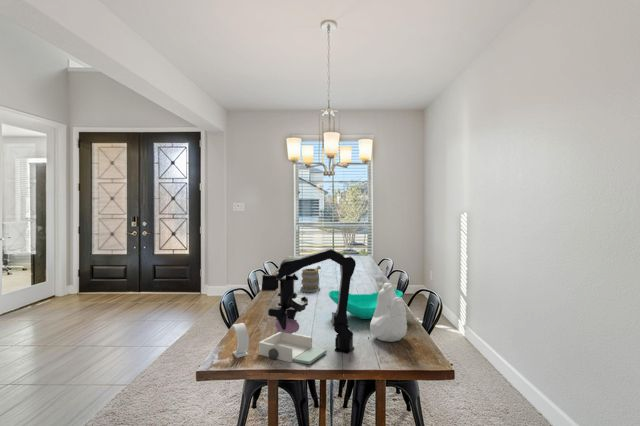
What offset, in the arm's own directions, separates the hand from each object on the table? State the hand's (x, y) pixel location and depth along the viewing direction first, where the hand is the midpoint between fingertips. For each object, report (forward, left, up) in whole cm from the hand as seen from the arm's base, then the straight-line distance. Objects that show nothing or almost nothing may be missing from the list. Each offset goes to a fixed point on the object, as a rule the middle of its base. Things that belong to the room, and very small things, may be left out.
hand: (287, 328), depth 163 cm
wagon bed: (+1, 0, -10) cm, 10 cm away
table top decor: (-9, -59, -10) cm, 61 cm away
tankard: (+48, -100, -10) cm, 111 cm away
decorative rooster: (-32, -32, -10) cm, 47 cm away
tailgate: (-7, 0, -9) cm, 12 cm away
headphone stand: (+15, +12, -10) cm, 21 cm away
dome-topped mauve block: (0, 0, -1) cm, 1 cm away
